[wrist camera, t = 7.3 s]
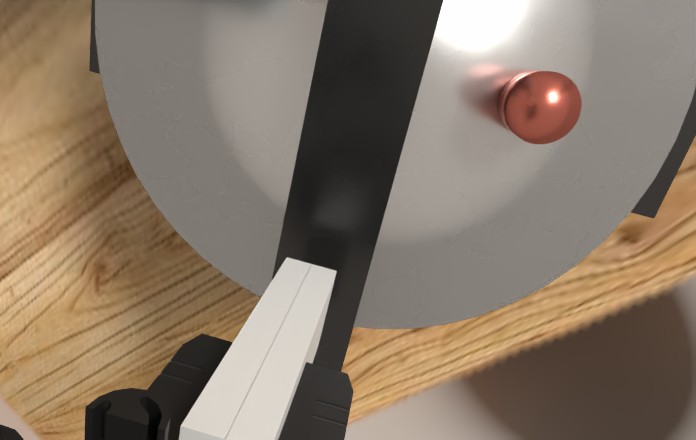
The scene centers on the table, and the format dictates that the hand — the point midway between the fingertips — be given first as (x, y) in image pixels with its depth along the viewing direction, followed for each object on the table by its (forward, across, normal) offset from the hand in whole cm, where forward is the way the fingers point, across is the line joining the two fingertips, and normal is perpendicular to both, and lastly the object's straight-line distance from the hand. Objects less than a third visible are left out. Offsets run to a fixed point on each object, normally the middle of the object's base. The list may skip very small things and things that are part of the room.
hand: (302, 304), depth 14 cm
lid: (+5, 0, +3) cm, 6 cm away
